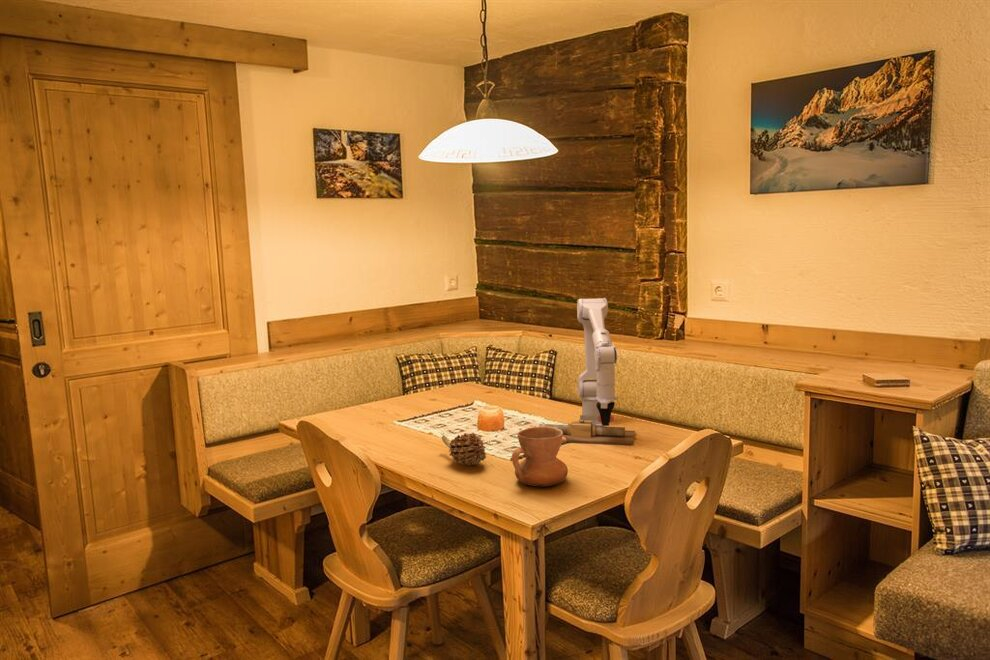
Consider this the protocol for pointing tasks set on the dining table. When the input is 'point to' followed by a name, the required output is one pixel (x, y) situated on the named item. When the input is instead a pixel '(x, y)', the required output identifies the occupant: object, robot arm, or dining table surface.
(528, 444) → the ceramic jug
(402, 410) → the dining table surface
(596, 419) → the valve lever
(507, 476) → the dining table surface
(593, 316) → the robot arm
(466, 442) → the pine cone
